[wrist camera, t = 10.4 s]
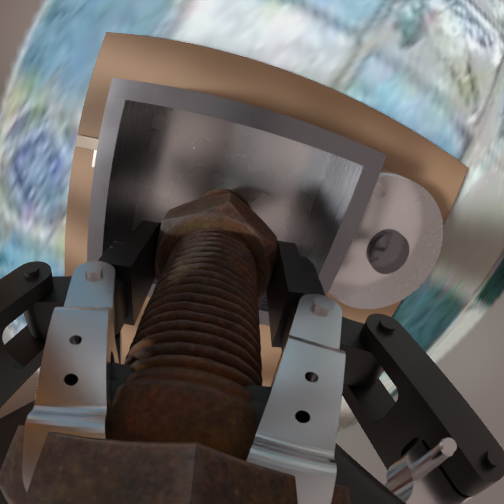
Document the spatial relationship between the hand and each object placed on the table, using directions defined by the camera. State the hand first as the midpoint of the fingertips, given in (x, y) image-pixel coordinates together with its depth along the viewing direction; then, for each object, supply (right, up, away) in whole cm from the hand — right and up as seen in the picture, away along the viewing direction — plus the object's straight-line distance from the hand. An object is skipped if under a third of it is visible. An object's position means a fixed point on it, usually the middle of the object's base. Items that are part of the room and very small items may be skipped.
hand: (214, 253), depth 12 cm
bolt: (0, +2, +4) cm, 5 cm away
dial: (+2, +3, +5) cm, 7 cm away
